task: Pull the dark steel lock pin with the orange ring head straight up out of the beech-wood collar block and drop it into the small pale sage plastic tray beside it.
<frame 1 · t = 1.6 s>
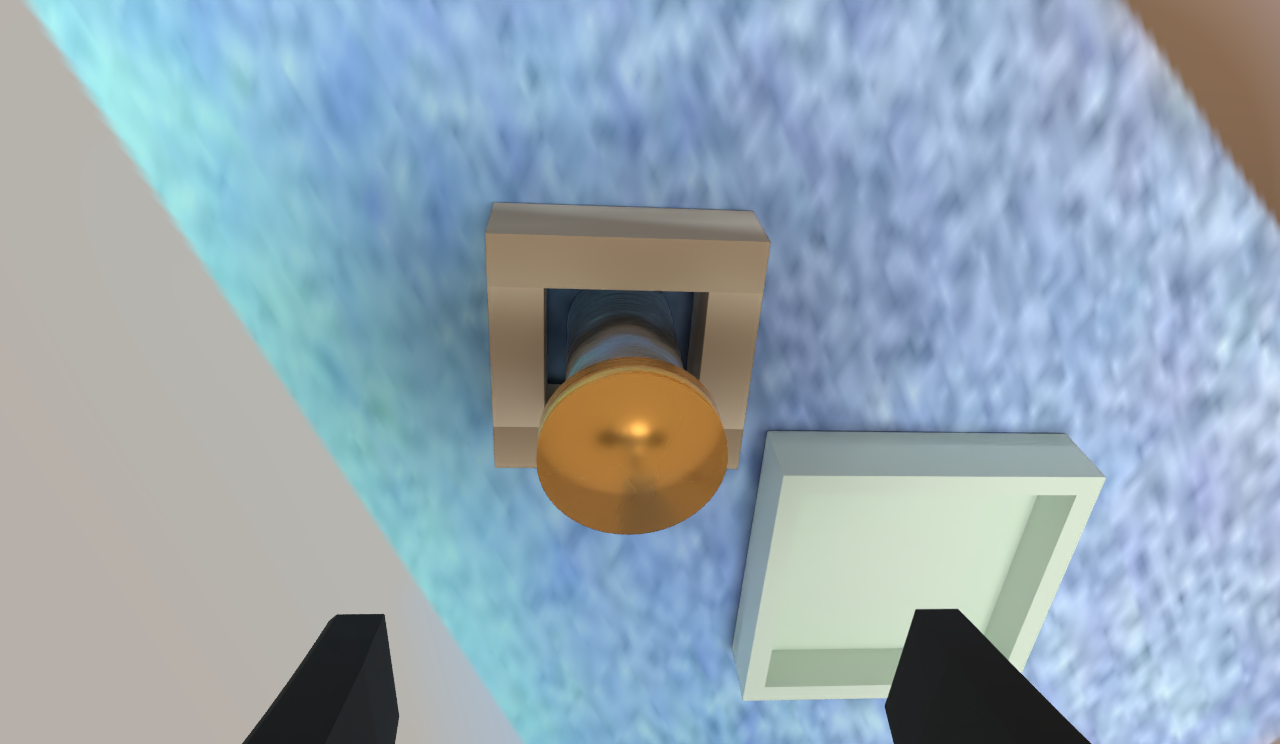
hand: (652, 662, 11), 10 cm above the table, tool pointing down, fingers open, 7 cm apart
parts tray: (886, 549, 24), on the table
lock pin: (625, 382, 18), in the collar block
collar block: (619, 323, 20), on the table
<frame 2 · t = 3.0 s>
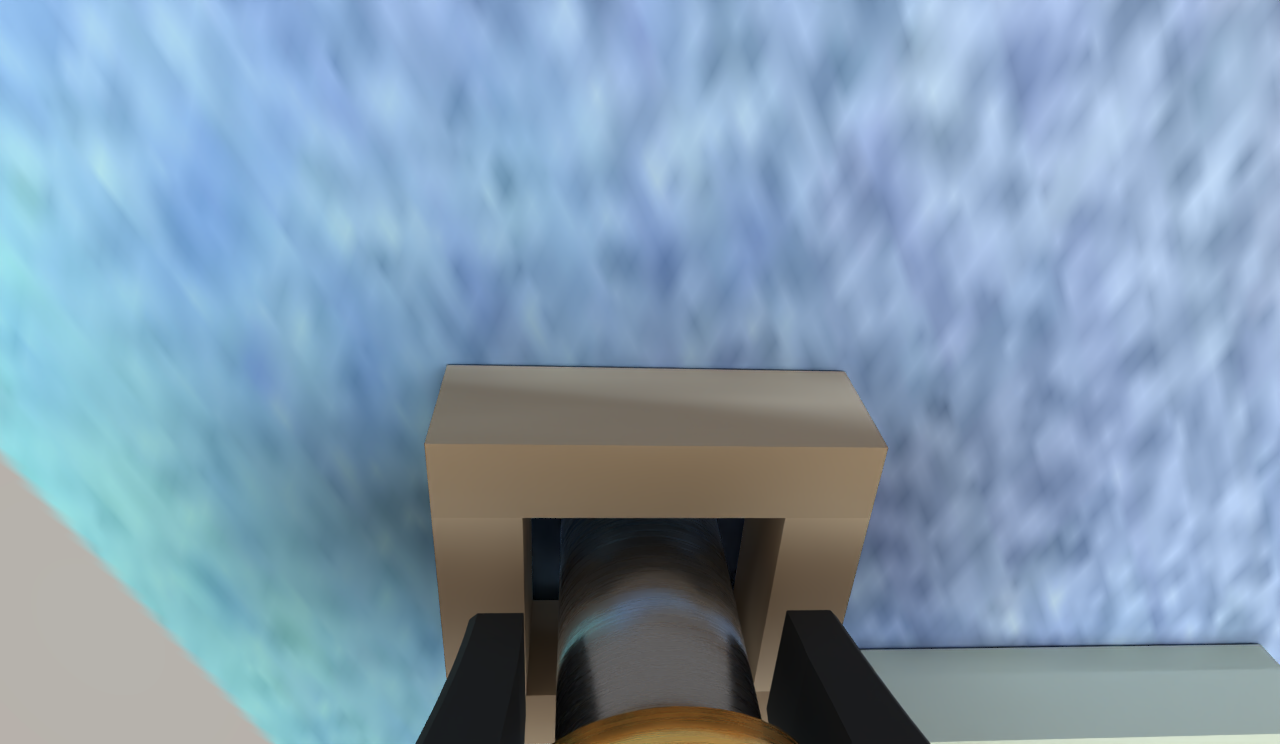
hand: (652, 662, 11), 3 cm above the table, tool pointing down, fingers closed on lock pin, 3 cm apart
lock pin: (651, 660, 11), in the collar block, touching gripper
collar block: (638, 522, 14), on the table
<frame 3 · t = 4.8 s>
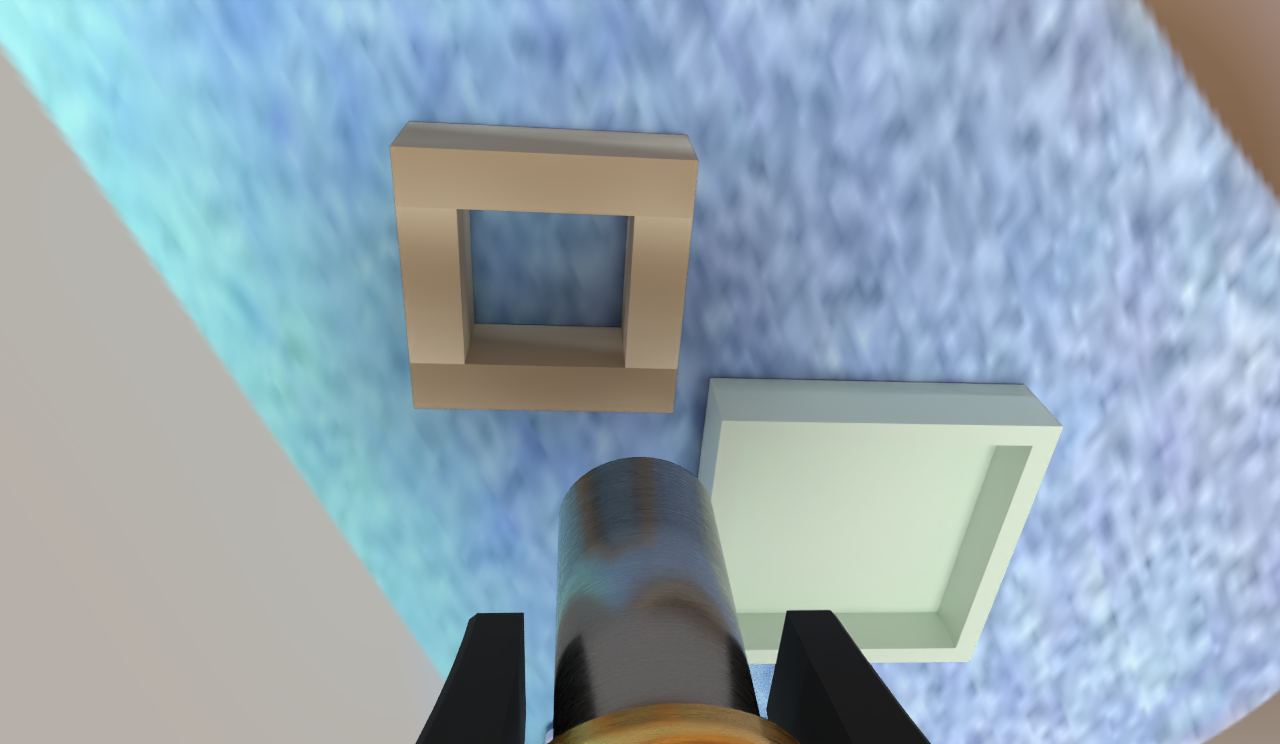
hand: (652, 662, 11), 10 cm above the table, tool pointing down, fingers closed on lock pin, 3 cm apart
parts tray: (839, 507, 23), on the table
lock pin: (650, 658, 11), point 10 cm above the table, touching gripper
collar block: (549, 257, 19), on the table
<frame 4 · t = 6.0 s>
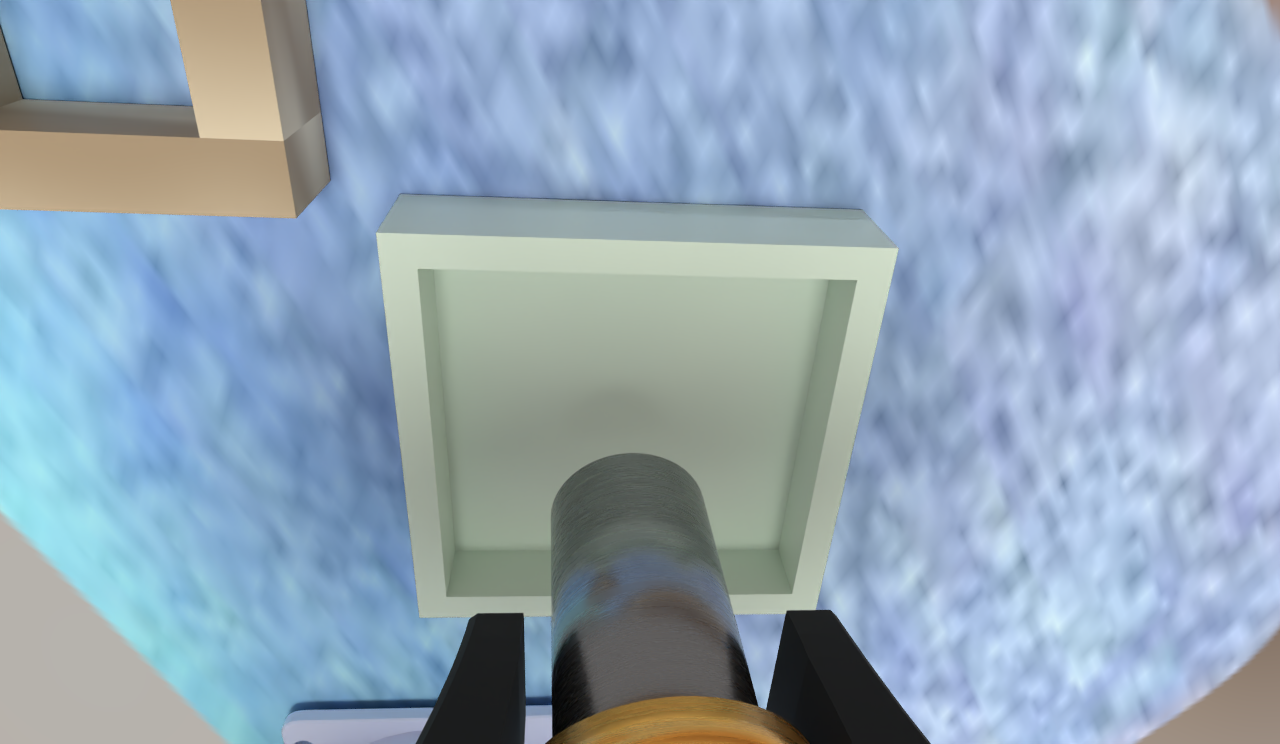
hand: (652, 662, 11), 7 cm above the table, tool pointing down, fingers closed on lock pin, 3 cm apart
parts tray: (625, 398, 17), on the table
lock pin: (646, 653, 11), point 7 cm above the table, touching gripper
when the fingers open (4 cm above the table, at t = 6.8 s): lock pin stays where it is, resting on parts tray.
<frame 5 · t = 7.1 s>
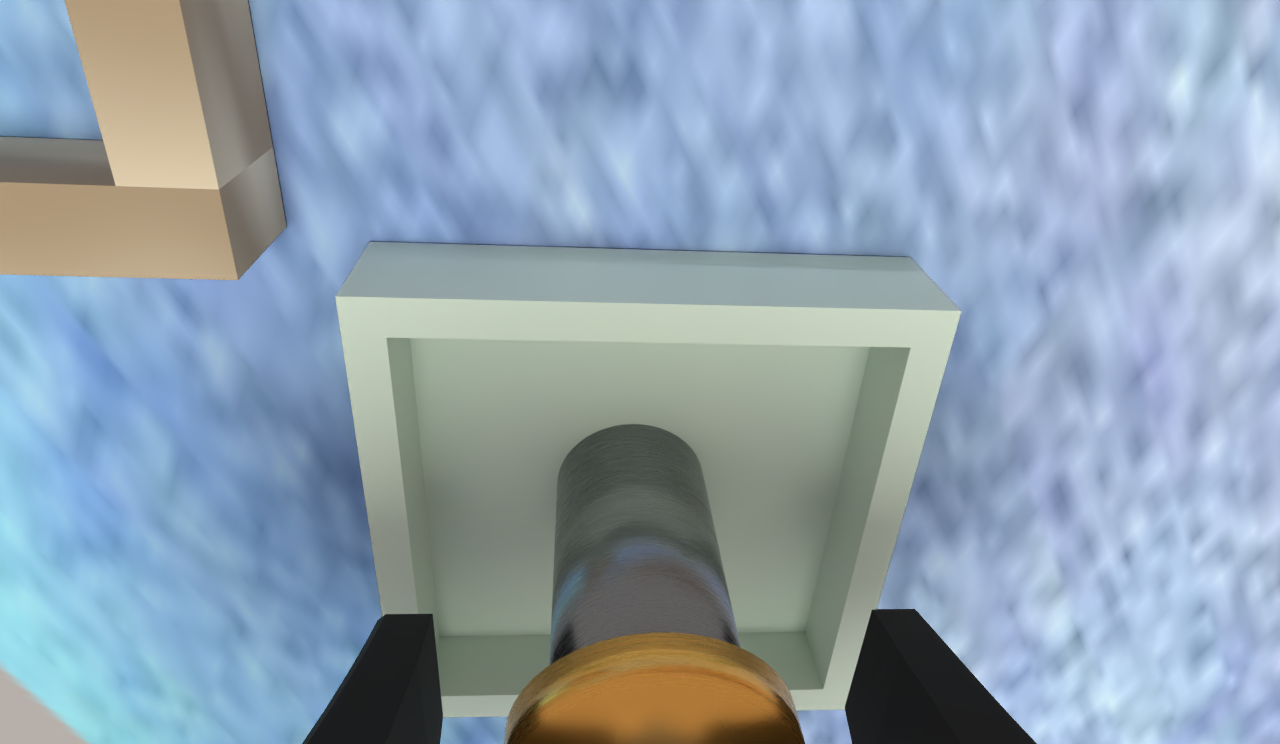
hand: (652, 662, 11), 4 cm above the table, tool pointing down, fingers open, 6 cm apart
parts tray: (633, 468, 15), on the table
lock pin: (640, 607, 12), in the parts tray, point 4 cm above the table
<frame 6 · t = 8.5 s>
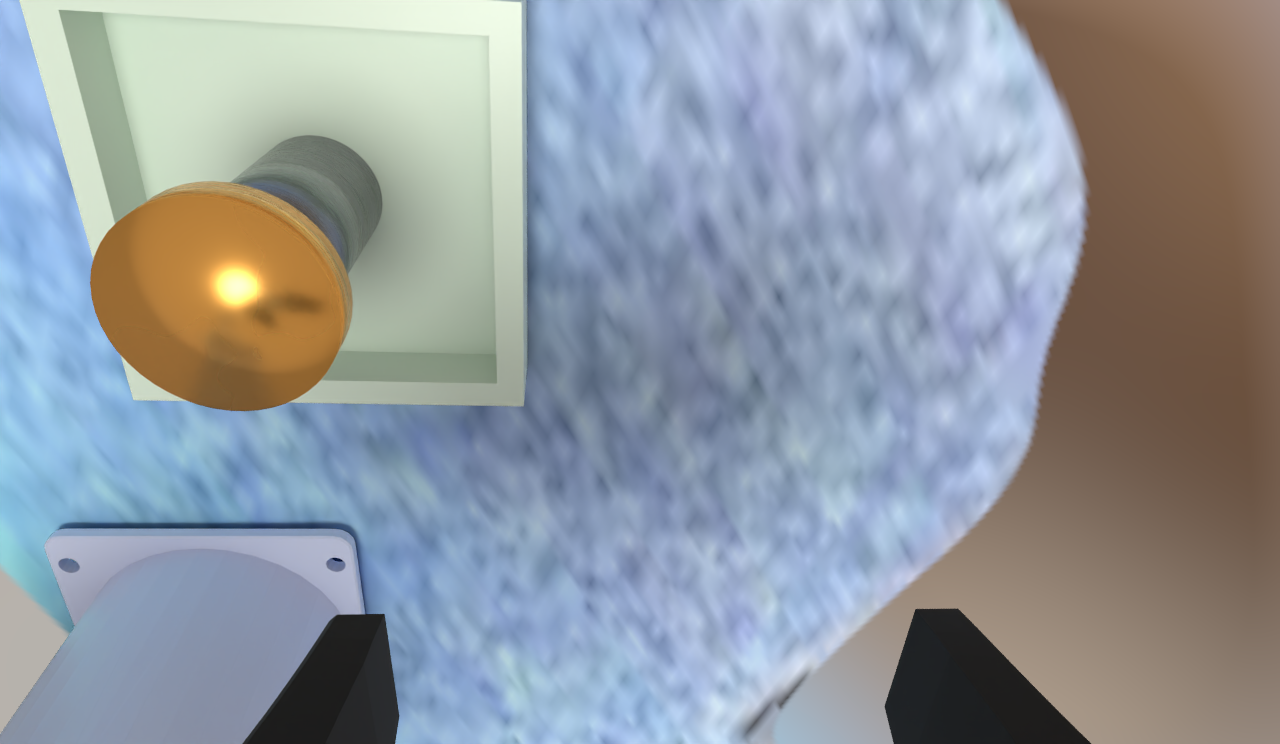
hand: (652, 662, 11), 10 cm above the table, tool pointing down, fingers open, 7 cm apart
parts tray: (332, 192, 18), on the table
lock pin: (278, 244, 15), in the parts tray, point 4 cm above the table
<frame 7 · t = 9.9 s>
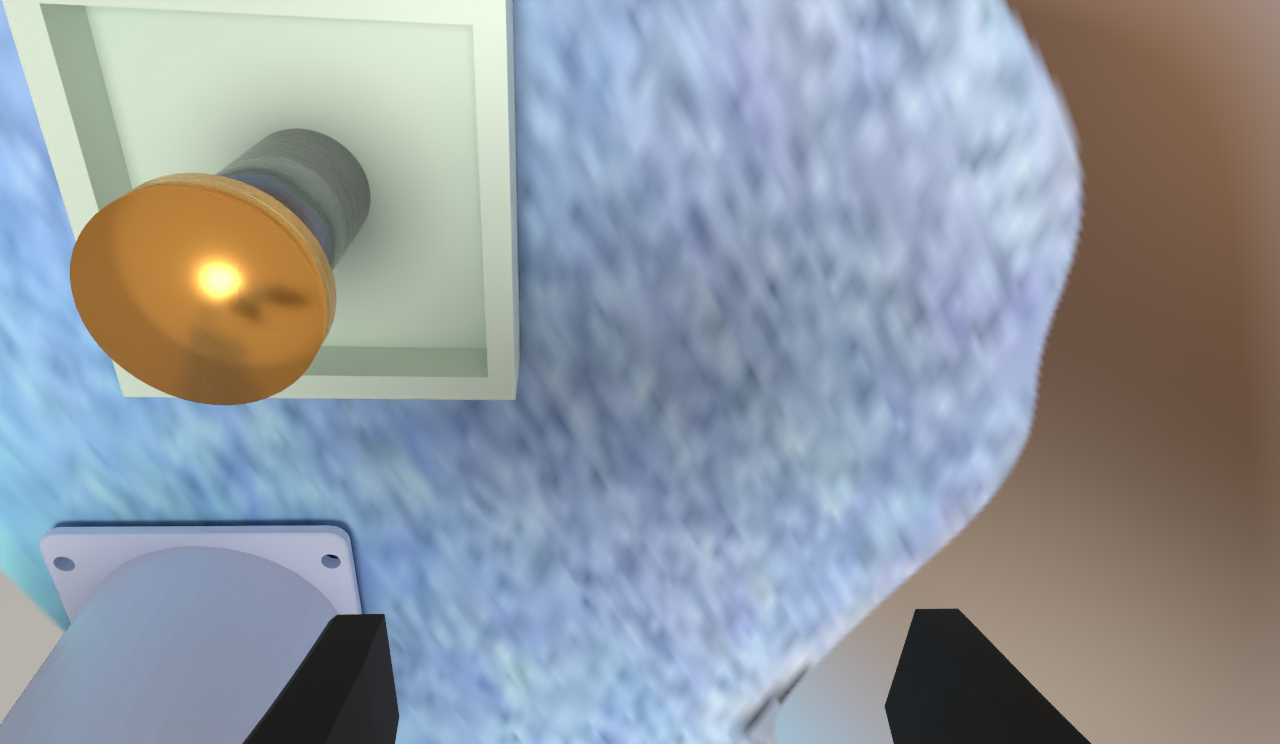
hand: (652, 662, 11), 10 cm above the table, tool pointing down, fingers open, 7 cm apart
parts tray: (320, 186, 18), on the table
lock pin: (263, 237, 15), in the parts tray, point 4 cm above the table
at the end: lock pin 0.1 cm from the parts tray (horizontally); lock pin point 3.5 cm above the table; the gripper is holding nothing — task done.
